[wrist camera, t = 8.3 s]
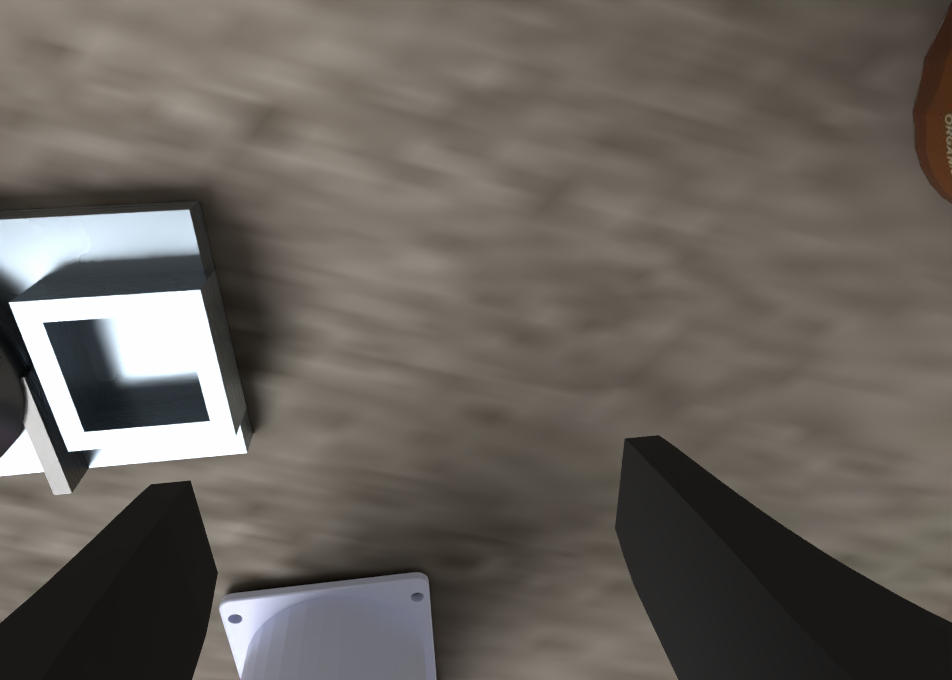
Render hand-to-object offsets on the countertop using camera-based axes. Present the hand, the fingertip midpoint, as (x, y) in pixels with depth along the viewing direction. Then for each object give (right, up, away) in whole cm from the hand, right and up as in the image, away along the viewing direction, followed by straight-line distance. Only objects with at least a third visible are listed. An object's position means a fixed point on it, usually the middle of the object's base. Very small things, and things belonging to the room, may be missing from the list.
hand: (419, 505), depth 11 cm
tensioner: (-12, +3, +8) cm, 14 cm away
